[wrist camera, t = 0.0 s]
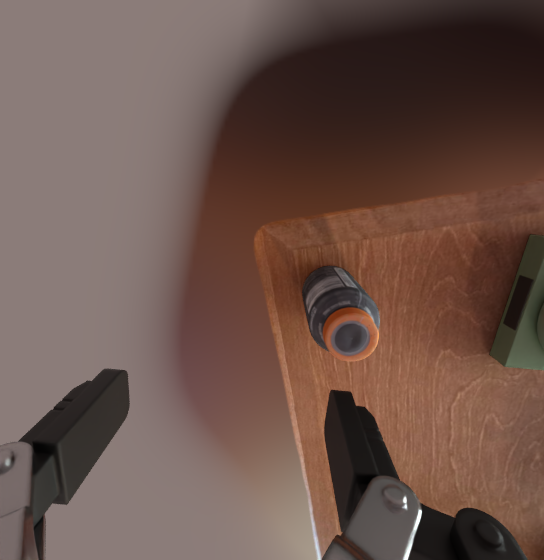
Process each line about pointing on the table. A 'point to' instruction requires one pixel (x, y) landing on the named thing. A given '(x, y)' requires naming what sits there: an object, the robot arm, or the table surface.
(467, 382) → the table surface
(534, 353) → the scale
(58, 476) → the robot arm
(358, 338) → the pill bottle
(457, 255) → the table surface
